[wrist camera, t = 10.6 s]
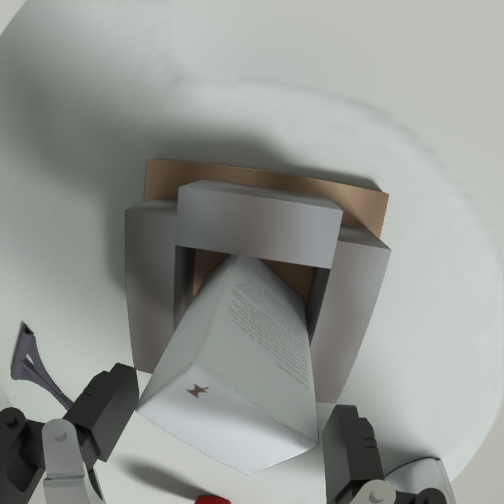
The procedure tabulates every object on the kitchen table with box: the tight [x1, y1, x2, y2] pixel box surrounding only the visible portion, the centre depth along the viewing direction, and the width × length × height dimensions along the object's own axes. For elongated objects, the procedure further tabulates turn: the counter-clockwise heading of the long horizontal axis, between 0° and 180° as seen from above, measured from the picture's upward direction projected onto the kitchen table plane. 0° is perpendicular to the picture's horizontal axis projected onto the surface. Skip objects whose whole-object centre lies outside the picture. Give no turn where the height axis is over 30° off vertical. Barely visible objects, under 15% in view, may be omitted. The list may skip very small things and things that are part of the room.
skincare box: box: [135, 254, 319, 475], centre depth 15 cm, size 6×4×12 cm
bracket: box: [11, 324, 74, 411], centre depth 29 cm, size 14×15×3 cm
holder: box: [125, 159, 391, 403], centre depth 19 cm, size 16×16×6 cm
